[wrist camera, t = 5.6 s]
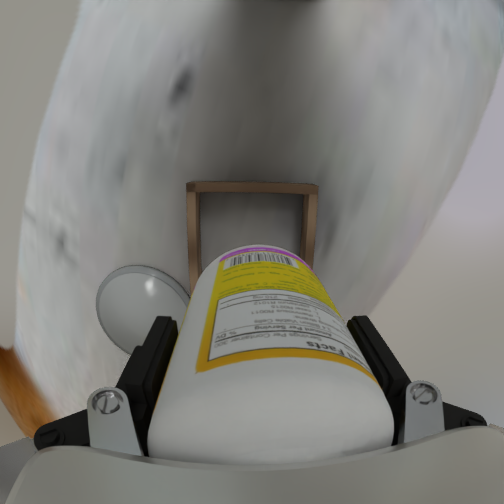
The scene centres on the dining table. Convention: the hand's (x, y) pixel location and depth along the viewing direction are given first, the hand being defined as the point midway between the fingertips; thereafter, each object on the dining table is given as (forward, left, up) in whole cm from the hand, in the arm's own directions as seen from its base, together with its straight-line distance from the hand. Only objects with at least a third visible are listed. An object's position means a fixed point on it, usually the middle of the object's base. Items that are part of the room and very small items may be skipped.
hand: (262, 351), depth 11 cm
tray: (+9, -12, -18) cm, 24 cm away
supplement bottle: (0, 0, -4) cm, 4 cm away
